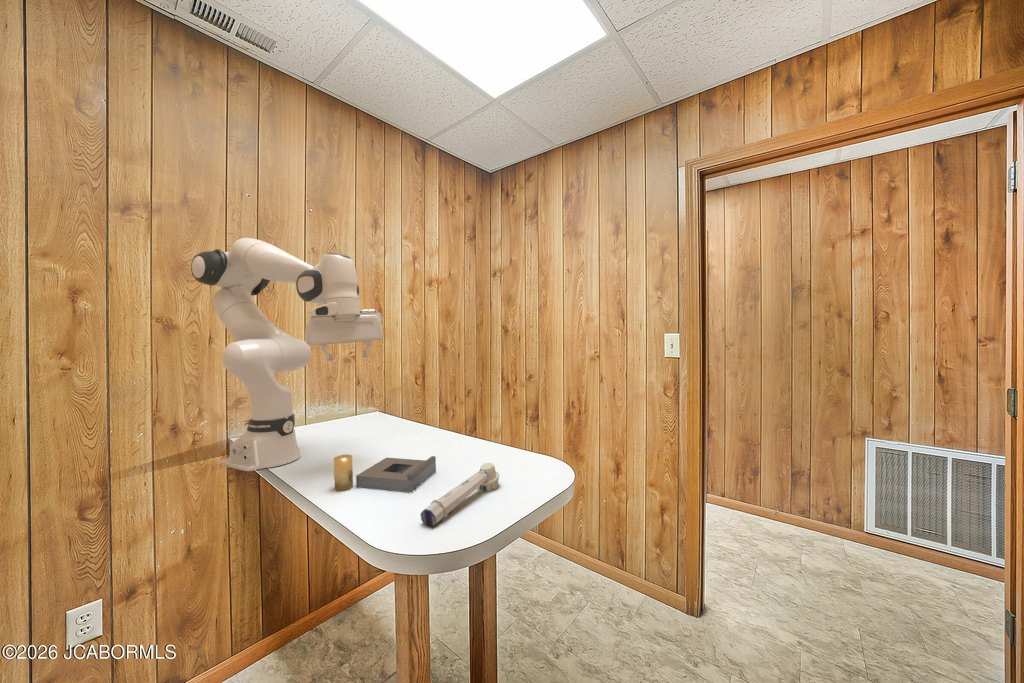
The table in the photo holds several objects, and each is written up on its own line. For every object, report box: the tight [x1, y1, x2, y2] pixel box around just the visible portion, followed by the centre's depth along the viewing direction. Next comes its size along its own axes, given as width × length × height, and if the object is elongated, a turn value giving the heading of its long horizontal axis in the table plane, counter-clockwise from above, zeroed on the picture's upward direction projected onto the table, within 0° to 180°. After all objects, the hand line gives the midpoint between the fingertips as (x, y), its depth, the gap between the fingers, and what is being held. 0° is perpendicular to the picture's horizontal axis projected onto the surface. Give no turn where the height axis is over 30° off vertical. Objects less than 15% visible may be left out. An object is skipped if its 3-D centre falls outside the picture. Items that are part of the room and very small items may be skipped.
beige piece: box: [419, 462, 500, 528], centre depth 87 cm, size 5×7×25 cm
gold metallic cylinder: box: [333, 454, 354, 492], centre depth 96 cm, size 4×4×8 cm
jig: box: [355, 455, 437, 493], centre depth 101 cm, size 16×14×4 cm
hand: (348, 358), depth 104 cm, fingers open, 8 cm apart
